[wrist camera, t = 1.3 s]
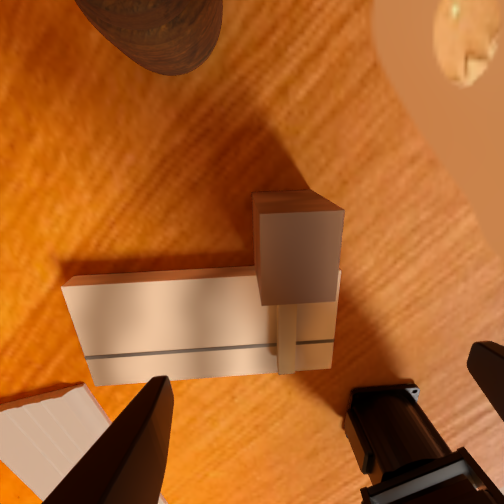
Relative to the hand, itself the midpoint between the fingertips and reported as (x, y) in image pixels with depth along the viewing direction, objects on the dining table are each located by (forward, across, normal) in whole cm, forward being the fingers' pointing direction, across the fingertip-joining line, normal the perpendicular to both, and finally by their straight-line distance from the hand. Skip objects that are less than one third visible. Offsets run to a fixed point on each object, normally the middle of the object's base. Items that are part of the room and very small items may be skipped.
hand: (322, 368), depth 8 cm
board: (+12, +5, +7) cm, 15 cm away
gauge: (+12, -1, +3) cm, 13 cm away
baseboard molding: (+13, +18, +28) cm, 36 cm away
